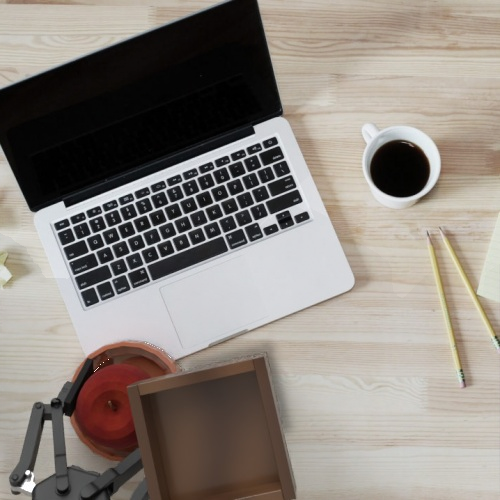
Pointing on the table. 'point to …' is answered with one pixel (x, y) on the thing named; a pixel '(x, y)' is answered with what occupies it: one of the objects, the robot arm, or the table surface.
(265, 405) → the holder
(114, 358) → the bowl
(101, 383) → the apple
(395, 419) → the table surface
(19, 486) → the robot arm
